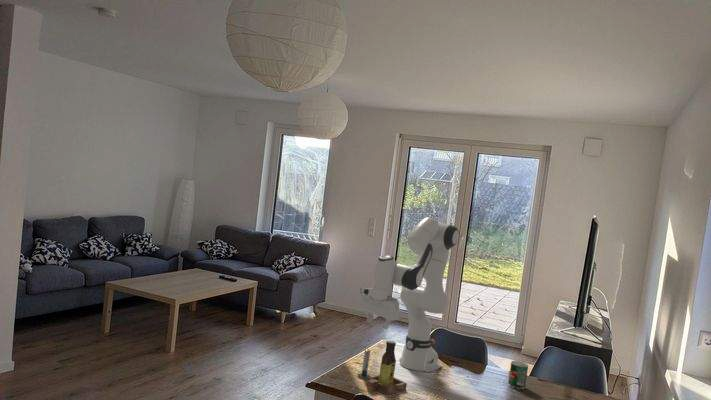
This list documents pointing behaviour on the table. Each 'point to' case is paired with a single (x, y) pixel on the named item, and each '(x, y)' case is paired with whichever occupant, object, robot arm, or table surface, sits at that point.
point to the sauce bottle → (388, 365)
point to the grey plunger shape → (365, 366)
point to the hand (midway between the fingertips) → (377, 325)
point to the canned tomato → (518, 374)
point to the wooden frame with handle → (376, 386)
